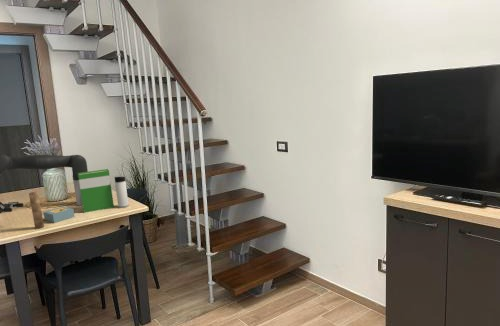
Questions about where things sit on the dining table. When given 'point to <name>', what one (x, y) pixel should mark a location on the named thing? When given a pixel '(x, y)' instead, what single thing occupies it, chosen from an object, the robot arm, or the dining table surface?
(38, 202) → the peg
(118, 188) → the travel mug
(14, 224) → the dining table surface
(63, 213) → the socket block
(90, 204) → the hardback book
